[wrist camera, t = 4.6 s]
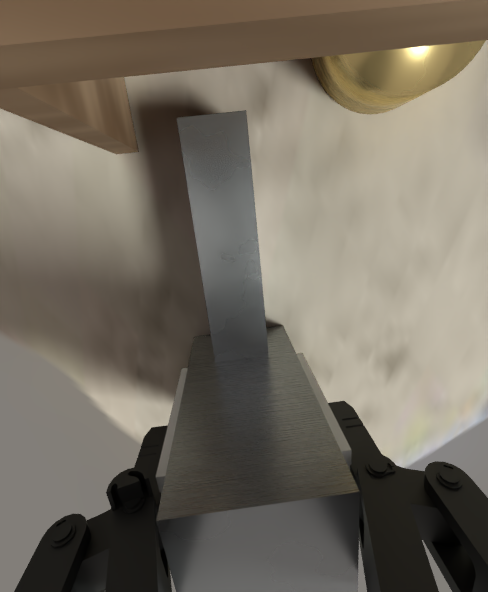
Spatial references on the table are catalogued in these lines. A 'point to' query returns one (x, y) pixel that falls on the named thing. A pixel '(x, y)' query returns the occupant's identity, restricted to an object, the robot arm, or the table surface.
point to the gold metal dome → (390, 74)
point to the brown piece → (189, 47)
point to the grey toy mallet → (248, 413)
